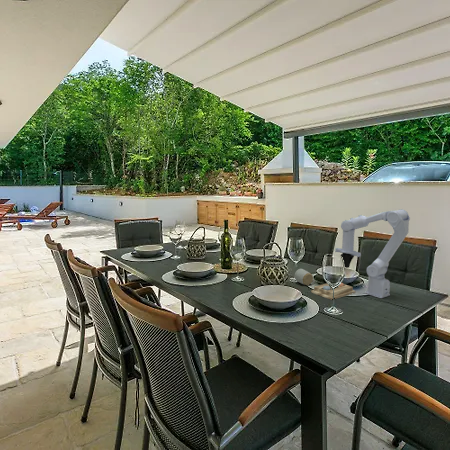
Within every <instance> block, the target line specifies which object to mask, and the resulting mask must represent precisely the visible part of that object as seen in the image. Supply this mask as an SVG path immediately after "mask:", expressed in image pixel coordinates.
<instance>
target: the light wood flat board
mask: <svg viewBox="0 0 450 450" xmlns="http://www.w3.org/2000/svg"><path fill="white" fill-rule="evenodd" d="M323 286H329V285H328V284H327V283H324V284H319V285H316V286H313V289H312V290H311V293H312V294H314V295H317V296H320V297H323V298H325V299H328V300H331V301H333V300H336V299H340V298H342V297H347V296H350V295H353V294H356V290H354V288H353V286H351V285H347V284H344V283H343V286H342V287H339V286H338V287H337V288H335V289H334V298H335V299H333V290H332V288H330V290H328V291H327V290H324V289H323ZM352 293H353V294H352ZM349 294H350V295H349ZM346 295H347V296H346ZM332 299H333V300H332Z"/></svg>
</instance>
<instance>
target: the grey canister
mask: <svg viewBox="0 0 450 450" xmlns="http://www.w3.org/2000/svg"><path fill="white" fill-rule="evenodd" d="M293 276H294V277H293V278H294V280H295V281H296V282H297V283H300V284H302V285H304V286H310V285H311V284H312V283H313V284H315V282H316V280H315V279H314V276H313V274H312V273H310V272H309V271H308V270H305V269H303V268H299V269H297V270H296V271H295V272H294V275H293Z"/></svg>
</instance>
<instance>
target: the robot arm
mask: <svg viewBox="0 0 450 450" xmlns="http://www.w3.org/2000/svg"><path fill="white" fill-rule="evenodd" d="M382 220H383V221H384V222H388V224H389V225H390V226H391V227H392V229H393V233H392V235H391V237H390V238H389V240H388V241H387V243H386V244H385V246H384V248H383V249H382V251H381V252H380V254H379V255H378V257H377V258H376V259H375V260H374V261H372V263H371V264H370V265H368V266H367V267H366V274H367V276H368V281H367V283H368V284H367V290H366V291H364V292H363V293H364V294H366V295H368V296H369V295H370V296H372V297H375V298H378V299H383V298H387V297H389V296H391V294H390V290H391V287H390V286H391V282H390V280H389V279H387V278H385V274H386V273H387V272H388V267H389V265H390V261H391V259H392V258H393V256H394V255H395V253H396V252H397V250H398V248H400V246H401V244H402V243H403V242H404V240H405V238H406V237H407V235H408V234H409V225H410V220H411V217H410V215H409V213H408V211H406V210H405V209H403V208H402V209H397V210H396V209H395V210H386V211H382V212H379V213H376V214H372V215H369V216H367V215H362V214H360V215H358V216H357V217H351V218H349V219H348V220H347V219H345V220H343V221H342V222H341V224H340V228H341V230H342V246H341V248H339V247H336V248H335V250H334V251H335V253H341V254H340V257H341V256H342V257H343V259H342V261H343V260H344V262H343V265H344V268H346V269H347V268H350V265H351V263H352V260H353V259H354V257H357V258H360V257H362V256H361V255H362V253H361V252H359V251H356V250H354V247H355V245H354V244H355V231H356V230H358V229H363V228H364V227H368V226H369V224H371V223H374V222H378V221H382ZM342 257H341V258H342Z"/></svg>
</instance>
